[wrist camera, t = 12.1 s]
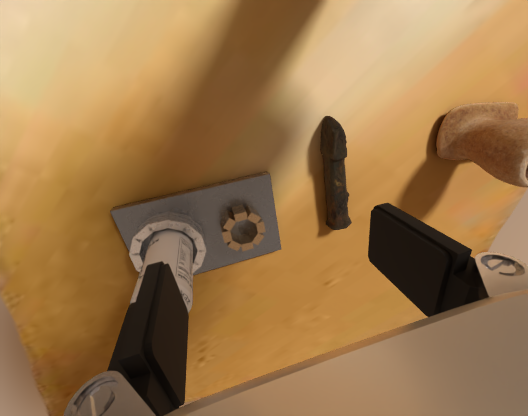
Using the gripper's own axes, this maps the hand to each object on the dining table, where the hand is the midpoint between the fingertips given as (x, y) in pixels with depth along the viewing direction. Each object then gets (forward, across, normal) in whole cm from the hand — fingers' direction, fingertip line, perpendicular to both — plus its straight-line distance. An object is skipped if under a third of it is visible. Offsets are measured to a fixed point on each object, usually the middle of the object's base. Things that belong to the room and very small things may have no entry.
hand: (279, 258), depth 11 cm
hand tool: (+28, -16, +8) cm, 34 cm away
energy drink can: (+26, +11, +12) cm, 30 cm away
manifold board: (+27, +6, +12) cm, 30 cm away
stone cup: (+29, -45, +7) cm, 54 cm away
